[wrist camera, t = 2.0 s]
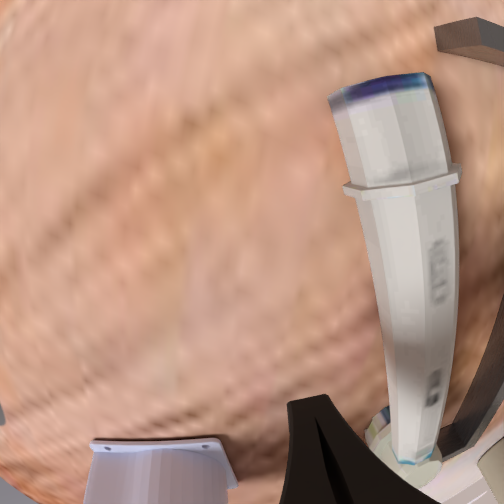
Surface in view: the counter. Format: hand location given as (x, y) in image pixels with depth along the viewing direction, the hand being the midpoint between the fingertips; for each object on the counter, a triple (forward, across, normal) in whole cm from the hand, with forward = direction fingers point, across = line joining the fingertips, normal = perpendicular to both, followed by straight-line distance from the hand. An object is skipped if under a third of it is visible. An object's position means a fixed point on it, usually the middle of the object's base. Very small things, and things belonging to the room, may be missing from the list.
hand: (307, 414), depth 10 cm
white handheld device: (+6, -6, +2) cm, 9 cm away
